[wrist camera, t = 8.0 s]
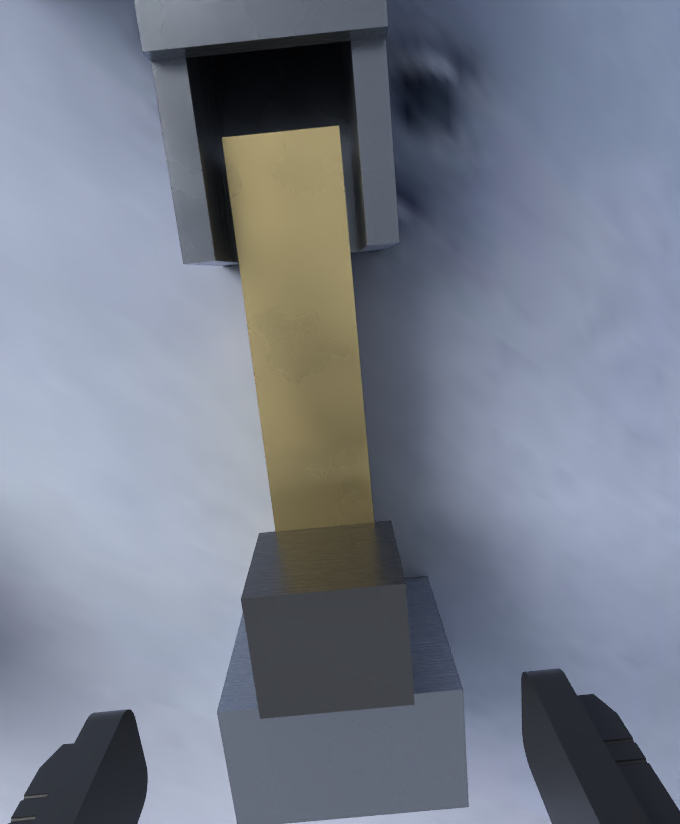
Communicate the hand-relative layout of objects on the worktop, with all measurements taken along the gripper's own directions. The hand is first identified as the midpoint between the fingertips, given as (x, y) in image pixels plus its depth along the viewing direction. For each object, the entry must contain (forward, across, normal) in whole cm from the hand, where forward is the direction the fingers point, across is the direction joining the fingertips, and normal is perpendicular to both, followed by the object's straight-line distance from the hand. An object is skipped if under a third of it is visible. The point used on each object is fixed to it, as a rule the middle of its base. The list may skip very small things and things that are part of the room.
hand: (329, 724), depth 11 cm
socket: (+10, 0, +5) cm, 11 cm away
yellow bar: (+10, 0, -3) cm, 10 cm away
